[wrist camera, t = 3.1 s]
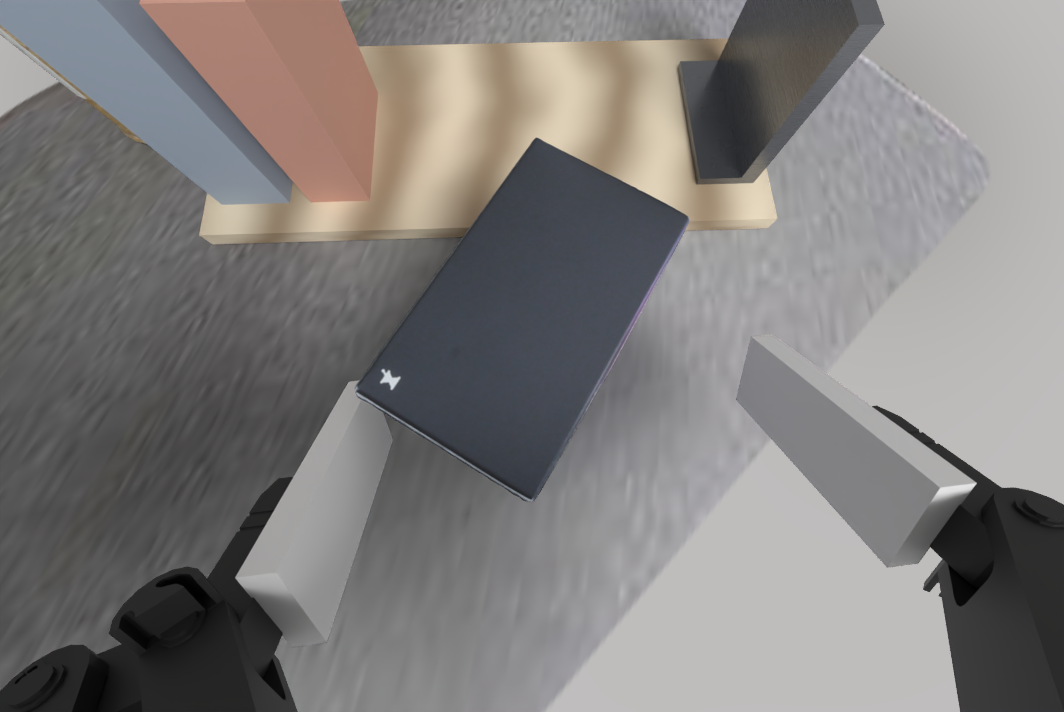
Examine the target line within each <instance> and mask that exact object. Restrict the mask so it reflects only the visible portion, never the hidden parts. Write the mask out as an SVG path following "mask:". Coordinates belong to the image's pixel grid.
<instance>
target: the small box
mask: <svg viewBox="0 0 1064 712" xmlns="http://www.w3.org/2000/svg"><path fill="white" fill-rule="evenodd" d="M689 222H690V218H689V217H688V216H687V215H685V214H684V213H682V212H680V211H678V210H677V209H675V208H673V207H672V206H670V205H668V204H666V203H664V202H662V201H660V200H658V199H656V198H654V197H652V196H651V195H649V194H647V193H645V192H643V191H640V190H638V189H637V188H636V187H633V186H631V185H629V184H627V183H625V182H623V181H622V180H620V179H618V178H616V177H614V176H611V175H609V174H607V173H605V172H603V171H602V170H600V169H598V168H596V167H594V166H592V165H590V164H588V163H586V162H584V161H582V160H580V159H578V158H576V157H574V156H572V155H570V154H568V153H566V152H564V151H562V150H560V149H558V148H556V147H554V146H552V145H550V144H548V143H546V142H544V141H543V140H541V139H539V138H535V139H534V140H533V141H532V143H531V144H530V145H529V147H528V148H527V150H526V151H525V152H524V154H523V155H522V156H521V158H520V159H519V160H518V162H517V163H516V164H515V166H514V167H513V169H512V170H511V171H510V173H509V174H508V176H507V177H506V178H505V180H504V181H503V182H502V184H501V185H500V187H499V188H498V189H497V191H496V192H495V193H494V195H493V196H492V198H491V199H490V200H489V202H488V203H487V204H486V206H485V207H484V209H483V210H482V211H481V213H480V214H479V215H478V217H477V218H476V220H475V221H474V222H473V224H472V225H471V226H470V228H469V229H468V231H467V232H466V233H465V235H464V236H463V238H462V239H461V240H460V241H459V243H458V244H457V246H456V247H455V249H454V250H453V252H452V253H451V254H450V256H449V257H448V258H447V260H446V261H445V262H444V264H443V265H442V267H441V268H440V269H439V271H438V272H437V273H436V275H435V276H434V278H433V279H432V281H431V282H430V283H429V285H428V286H427V287H426V289H425V290H424V291H423V293H422V294H421V296H420V297H419V298H418V300H417V301H416V303H415V304H414V305H413V307H412V308H411V310H410V311H409V312H408V314H407V315H406V316H405V318H404V319H403V320H402V322H401V323H400V324H399V326H398V327H397V329H396V330H395V332H394V333H393V334H392V336H391V337H390V339H389V340H388V341H387V343H386V344H385V346H384V347H383V348H382V349H381V351H380V352H379V354H378V356H377V357H376V358H375V359H374V361H373V362H372V364H371V365H370V367H369V368H368V369H367V371H366V372H365V373H364V375H363V376H362V378H361V379H360V380H359V382H358V383H357V384H356V386H355V394H356V396H357V397H358V398H359V399H361V400H363V401H365V402H367V403H369V404H371V405H373V406H374V407H375V408H377V409H378V410H380V411H382V412H384V413H385V414H387V415H388V416H390V417H392V418H393V419H395V420H396V421H398V422H400V423H401V424H403V425H404V426H406V427H408V428H409V429H411V430H412V431H414V432H415V433H417V434H418V435H420V436H422V437H423V438H425V439H427V440H429V441H430V442H432V443H434V444H435V445H437V446H439V447H440V448H441V449H443V450H445V451H447V452H448V453H449V454H450V455H452V456H454V457H456V458H457V459H458V460H460V461H461V462H463V463H465V464H466V465H468V466H470V467H471V468H473V469H474V470H476V471H478V472H479V473H481V474H483V475H485V476H486V477H487V478H489V479H490V480H491V481H493V482H495V483H497V484H498V485H500V486H502V487H504V488H505V489H507V490H508V491H509V492H511V493H512V494H514V495H516V496H518V497H520V498H521V499H522V500H524V501H528V502H533V501H534V500H535V499H536V498H537V496H538V495H539V493H540V491H541V490H542V488H543V486H544V484H545V483H546V481H547V479H548V478H549V476H550V474H551V472H552V471H553V469H554V467H555V466H556V464H557V462H558V460H559V459H560V457H561V455H562V453H563V452H564V450H565V448H566V446H567V444H568V443H569V441H570V439H571V437H572V436H573V434H574V432H575V430H576V429H577V427H578V425H579V423H580V422H581V420H582V418H583V416H584V415H585V413H586V411H587V409H588V408H589V406H590V404H591V402H592V401H593V399H594V397H595V395H596V394H597V392H598V390H599V389H600V387H601V385H602V383H603V382H604V380H605V378H606V377H607V375H608V373H609V372H610V370H611V368H612V366H613V364H614V362H615V360H616V359H617V357H618V355H619V353H620V351H621V349H622V347H623V346H624V344H625V342H626V340H627V338H628V336H629V334H630V333H631V331H632V329H633V327H634V325H635V323H636V321H637V320H638V318H639V316H640V314H641V312H642V310H643V308H644V307H645V305H646V303H647V301H648V299H649V297H650V295H651V294H652V292H653V290H654V288H655V286H656V284H657V283H658V281H659V279H660V277H661V275H662V273H663V271H664V270H665V268H666V266H667V264H668V262H669V260H670V258H671V256H672V254H673V252H674V251H675V249H676V247H677V245H678V243H679V241H680V239H681V237H682V235H683V234H684V232H685V230H686V228H687V226H688V224H689Z"/></svg>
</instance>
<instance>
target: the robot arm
mask: <svg viewBox="0 0 1064 712" xmlns="http://www.w3.org/2000/svg"><path fill="white" fill-rule="evenodd" d="M358 382H359V381H350V382H348V384H347V386H346V387H345V389H344V391H343V393H342V394H341V396H340V398H339V399H338V401H337V403H336V405H335V406H334V408H333V410H332V412H331V413H330V415H329V417H328V418H327V420H326V422H325V424H324V425H323V427H322V429H321V431H320V432H319V434H318V436H317V437H316V439H315V441H314V443H313V444H312V446H311V448H310V449H309V451H308V453H307V455H306V456H305V458H304V460H303V462H302V463H301V465H300V467H299V468H298V470H297V472H296V474H295V475H294V477H288V478H280V479H278V480H277V481H276V482H274V483H273V484H272V485H271V486H270V487H269V488H268V489H267V490H266V491H265V492H264V493H263V494H262V495H261V496H260V497H259V499H258V500H257V502H256V504H255V505H254V507H253V508H252V510H251V511H250V516H248V517H247V518H246V519H245V521H244V522H243V524H242V525H241V527H240V531H239V532H237V533H236V535H235V536H234V538H233V539H232V541H231V543H230V544H229V546H228V547H227V549H226V550H225V552H224V554H223V555H222V557H221V558H220V560H219V561H218V563H217V564H216V566H215V568H214V569H213V571H212V572H211V574H210V575H209V577H208V579H207V578H206V577H205V576H204V575H203V574H202V573H201V572H200V571H199V569H197V568H191V567H184V568H179V569H174V570H171V571H169V572H167V573H165V574H163V575H161V576H159V577H156V578H155V579H153V580H152V581H150V582H149V583H148V584H146V585H145V586H143V587H142V588H140V589H139V590H138V591H137V592H136V593H135V594H134V595H133V596H132V597H131V598H130V599H129V600H127V601H126V602H125V603H124V604H123V606H122V607H121V609H120V610H119V612H118V613H117V614H116V616H115V617H114V619H113V621H112V624H111V628H110V632H109V634H110V635H111V636H112V637H114V638H115V639H116V640H118V641H119V642H120V643H121V644H122V645H119V646H117V647H114V648H112V649H110V650H107V651H105V652H102V653H100V654H95V653H94V652H93V651H91V650H90V649H88V648H87V647H86V646H84V645H69V646H66V647H63V648H61V649H58V650H55V651H53V652H51V653H49V654H47V655H46V656H44V657H42V658H40V659H39V660H37V661H35V662H33V663H32V664H31V665H30V666H28V667H27V668H26V669H24V670H23V671H22V672H21V673H19V674H18V675H17V676H15V677H14V678H13V679H12V680H11V681H10V682H9V683H8V684H7V685H6V686H5V687H4V688H3V689H2V690H1V691H0V712H297V709H296V706H295V703H294V701H293V698H292V695H291V692H290V689H289V687H288V684H287V681H286V678H285V676H284V673H283V670H282V667H281V664H280V662H279V660H278V658H277V657H276V656H275V655H274V653H275V651H276V648H277V646H278V644H279V641H280V639H281V636H282V635H283V636H284V638H285V639H286V640H287V641H288V643H289V644H290V645H291V646H292V647H299V646H307V645H314V644H322V643H327V641H328V638H329V635H330V632H331V629H332V626H333V623H334V620H335V617H336V614H337V611H338V607H339V604H340V601H341V598H342V595H343V592H344V589H345V586H346V583H347V580H348V577H349V574H350V571H351V568H352V565H353V561H354V558H355V555H356V552H357V549H358V546H359V543H360V540H361V537H362V534H363V531H364V528H365V525H366V522H367V519H368V516H369V512H370V509H371V506H372V503H373V500H374V497H375V494H376V491H377V488H378V485H379V482H380V479H381V476H382V473H383V470H384V467H385V463H386V460H387V457H388V454H389V451H390V448H391V445H392V442H393V439H392V436H391V433H390V430H389V427H388V424H387V421H386V419H385V416H384V413H383V412H382V411H380V410H378V409H377V408H375V407H374V406H373V405H371V404H369V403H367V402H365V401H363V400H361V399H359V398H358V397H357V396H356V394H355V386H356V384H357V383H358ZM736 400H737V401H738V402H739V404H740V405H741V406H742V407H743V408H744V409H745V410H746V411H747V412H748V414H749V415H750V416H751V417H752V418H753V419H754V420H755V421H756V422H757V424H758V425H759V426H760V427H761V428H762V429H763V430H764V431H765V432H766V434H767V435H768V436H769V437H770V438H771V439H772V440H773V441H774V442H775V443H776V444H777V446H778V447H779V448H780V449H781V450H782V451H783V452H784V453H785V455H786V456H787V457H788V458H789V459H790V460H791V461H792V462H793V463H794V465H795V466H796V467H797V468H798V469H799V470H800V471H801V472H802V473H803V475H804V476H805V477H806V478H807V479H808V480H809V481H810V482H811V483H812V484H813V486H814V487H815V488H816V489H817V490H818V491H819V492H820V493H821V494H822V496H823V497H824V498H825V499H826V500H827V501H828V502H829V503H830V505H831V506H832V507H833V508H834V509H835V510H836V511H837V512H838V513H839V515H840V516H841V517H842V518H843V519H844V520H845V521H846V522H847V523H848V525H849V526H850V527H851V528H852V529H853V530H854V531H855V532H856V533H857V534H858V536H859V537H860V538H861V539H862V540H863V541H864V542H865V543H866V545H868V547H869V548H870V549H871V550H872V551H873V552H874V553H875V554H876V555H877V557H878V558H879V559H880V560H881V561H882V562H883V563H884V564H885V565H886V567H895V566H903V565H910V564H917V563H919V562H920V560H921V559H922V558H923V556H924V555H925V554H926V552H927V551H928V549H929V548H930V547H931V548H932V549H933V550H934V551H935V552H936V553H937V554H938V555H939V556H940V557H941V558H942V561H941V562H940V563H939V564H938V566H937V567H936V568H935V570H934V571H933V572H932V573H931V575H930V576H929V577H928V579H927V580H926V581H925V583H924V588H923V590H925V591H928V592H930V591H931V590H932V588H933V587H934V586H935V585H936V583H940V589H941V593H940V594H939V596H940V597H942V601H943V608H944V613H945V620H946V626H947V632H948V639H949V645H950V651H951V657H952V663H953V669H954V676H955V682H956V688H957V694H958V701H959V706H960V712H1064V505H1063V504H1061V503H1059V502H1057V501H1055V500H1054V499H1052V498H1049V497H1047V496H1044V495H1041V494H1038V493H1035V492H1033V491H1029V490H1024V489H1019V488H1001V487H1000V486H998V485H997V484H995V483H994V482H992V481H991V480H990V479H988V478H987V477H985V476H984V475H982V474H981V473H980V472H978V471H977V470H975V469H974V468H973V467H971V466H970V465H968V464H967V463H966V462H964V461H963V460H961V459H960V458H958V457H957V456H956V455H954V454H953V453H951V452H950V451H948V450H947V449H946V448H944V447H943V446H941V445H940V444H936V443H935V441H934V440H932V439H931V438H930V437H928V436H927V435H926V434H924V433H923V432H922V433H920V432H919V429H917V428H916V427H914V426H913V425H911V424H910V423H909V422H907V421H906V420H904V419H903V418H902V417H900V416H898V415H896V414H894V413H891V412H889V411H887V410H885V409H883V408H880V407H878V406H870V405H869V404H868V403H866V402H865V401H864V400H862V399H861V398H859V397H858V396H857V395H855V394H854V393H853V392H851V391H850V390H848V389H847V388H846V387H844V386H843V385H841V384H840V383H839V382H838V381H836V380H835V379H833V378H832V377H831V376H829V375H828V374H827V373H825V372H824V371H822V370H821V369H820V368H818V367H817V366H816V365H814V364H813V363H811V362H810V361H809V360H807V359H806V358H805V357H803V356H802V355H801V354H799V353H798V352H796V351H795V350H794V349H792V348H791V347H790V346H788V345H787V344H785V343H784V342H783V341H781V340H780V339H779V338H777V337H776V336H774V335H773V334H768V335H759V336H751V338H750V343H749V347H748V351H747V355H746V360H745V364H744V368H743V372H742V377H741V381H740V385H739V389H738V394H737V398H736Z"/></svg>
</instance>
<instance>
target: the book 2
mask: <svg viewBox="0 0 1064 712" xmlns="http://www.w3.org/2000/svg"><path fill="white" fill-rule="evenodd" d="M139 4H140V5H141V7H142V8H143V9H144V10H145V11H146V12H147V14H148V15H149V16H150V17H151V18H152V19H153V21H154V22H155V23H156V24H157V25H158V26H159V27H160V29H161V30H162V31H163V32H164V33H165V34H166V36H167V37H168V38H169V39H170V40H171V41H172V42H173V44H174V45H175V46H176V47H177V48H178V49H179V51H180V52H181V53H182V54H183V55H184V56H185V57H186V59H187V60H188V61H189V62H190V63H191V64H192V66H193V67H194V68H195V69H196V70H197V71H198V72H199V74H200V75H201V76H202V77H203V78H204V79H205V81H206V82H207V83H208V84H209V85H210V86H211V87H212V89H213V90H214V91H215V92H216V93H217V94H218V96H219V97H220V98H221V99H222V100H223V101H224V102H225V104H226V105H227V106H228V107H229V108H230V109H231V111H232V112H233V113H234V114H235V115H236V116H237V118H238V119H239V120H240V121H241V122H242V123H243V124H244V126H245V127H246V128H247V129H248V130H249V131H250V133H251V134H252V135H253V136H254V137H255V138H256V139H257V141H258V142H259V143H260V144H261V145H262V146H263V148H264V149H265V150H266V151H267V152H268V153H269V154H270V156H271V157H272V158H273V159H274V160H275V161H276V163H277V164H278V165H279V166H280V167H281V168H282V169H283V171H284V172H285V173H286V174H287V175H288V176H289V178H290V179H291V180H292V181H293V182H294V183H295V184H296V186H297V187H298V188H299V189H300V190H301V191H302V193H303V194H304V195H305V196H306V197H307V198H308V199H309V201H310V202H344V201H370V195H371V181H372V168H373V155H374V142H375V129H376V115H377V102H378V92H377V90H376V87H375V85H374V82H373V80H372V78H371V75H370V73H369V70H368V68H367V66H366V63H365V61H364V59H363V56H362V54H361V51H360V49H359V47H358V44H357V42H356V39H355V37H354V35H353V32H352V30H351V27H350V25H349V23H348V20H347V18H346V16H345V13H344V11H343V8H342V6H341V4H340V1H339V0H140V2H139Z"/></svg>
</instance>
